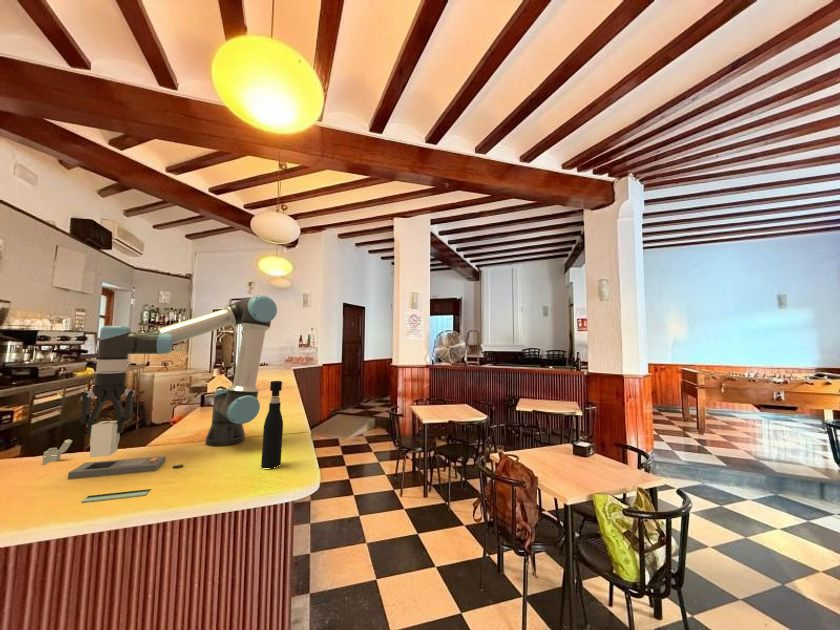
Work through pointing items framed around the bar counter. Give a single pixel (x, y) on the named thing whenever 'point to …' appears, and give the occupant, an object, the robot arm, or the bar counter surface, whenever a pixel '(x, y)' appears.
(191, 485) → the bar counter surface
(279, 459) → the wine bottle
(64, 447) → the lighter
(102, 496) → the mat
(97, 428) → the charger
